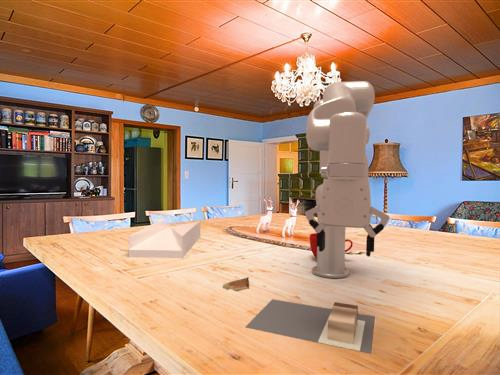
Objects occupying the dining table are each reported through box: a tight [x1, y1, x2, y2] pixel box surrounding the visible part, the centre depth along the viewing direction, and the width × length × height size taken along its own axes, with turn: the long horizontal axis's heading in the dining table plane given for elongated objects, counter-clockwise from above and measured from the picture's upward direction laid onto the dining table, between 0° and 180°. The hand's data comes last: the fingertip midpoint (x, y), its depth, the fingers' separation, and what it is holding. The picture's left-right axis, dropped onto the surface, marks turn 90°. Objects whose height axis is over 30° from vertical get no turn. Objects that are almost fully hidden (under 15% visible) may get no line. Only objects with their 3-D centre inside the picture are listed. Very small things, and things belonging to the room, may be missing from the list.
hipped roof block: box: [128, 220, 201, 259], centre depth 156 cm, size 45×22×10 cm, turn 179°
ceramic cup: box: [309, 232, 354, 260], centre depth 132 cm, size 13×17×10 cm
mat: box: [245, 298, 376, 355], centre depth 75 cm, size 18×26×1 cm
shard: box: [222, 276, 250, 292], centre depth 100 cm, size 11×8×2 cm
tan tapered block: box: [328, 301, 359, 344], centre depth 70 cm, size 10×5×4 cm, turn 157°
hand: (344, 252), depth 70 cm, fingers open, 9 cm apart
